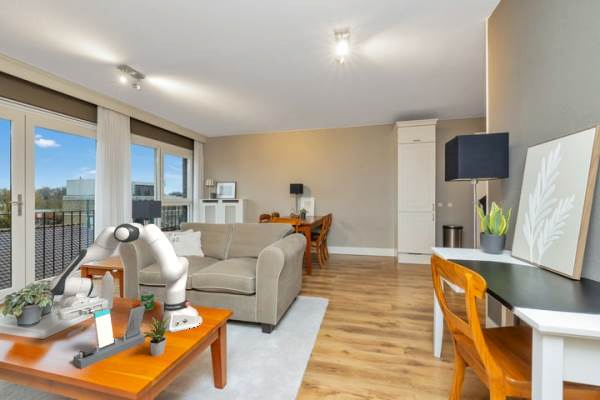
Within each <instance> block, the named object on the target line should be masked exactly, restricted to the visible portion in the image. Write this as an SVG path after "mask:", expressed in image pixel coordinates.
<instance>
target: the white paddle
mask: <svg viewBox="0 0 600 400" xmlns="http://www.w3.org/2000/svg"><path fill="white" fill-rule="evenodd" d="M93 319H94V327H95V334H96V335H95V336H96V343H97V345H98V346H99V348H101V347H104V346H106V345H109V344H111V343H114V334H113V333H114V332H113V326H112V318H111V309H107V310H99V311H95V312H94V313H93Z"/></svg>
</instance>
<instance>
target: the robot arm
mask: <svg viewBox="0 0 600 400" xmlns="http://www.w3.org/2000/svg"><path fill="white" fill-rule="evenodd" d="M136 241H142V242H143V243H144V245H145V246H146V247H147V249H148V250H149V252H150V253H151V254H152V256H153V257H154V259H155V260H156V263H157V265H158V268H159V270H160V276H161V279H163V280H164V281H166V284H165V287H164V301H163V316H162V317H163V318H162V321H163V320H164V319H166V318H167V317H168V316H169V317H168V319H169V320H168V319H167V320H168V322H167V320H166V322H167V324H168V325H169V326H168V325H167V324H166V322H165V324H166V325H165V324H164V325H165V327H167V329H165V330H167V331H166V332H168V331H171V332H170V333H176V332H180V331H185V330H190V329H194V328H193V327H195V328H198V327H197V326H199V325H200V324H201V323H202V324H203V317H202V316H201V315H199V312H198V310H197V309H196V308H195V307H192V306H191V305H190V301H189V299H188V298H186V287H187V279H188V274H189V273H188V272H189V265H190V262H189V259H188V258H186V257H185V256H177V255H176V252H175V249H174V246H173V244H172V243H171V242H170V240H169V239H168V238H167V236H166V234H164V232H163V231H162V230H161V229H160V228H159V227H158V226H157V225H156V224H155V223H148V224H146V225H144V224H143V223H141V222H126V223H122V224H119V225H118V226H112V225H111V226H106V227H105V228H104V229H103V230H102V231H101V232H100V233H99V234H98V236H97V237H96V238H95V240H94V241H93V243H92V244H91V245H90V246H88V247H87V248H85V249H82V250H80V251H79V252H78V253H77V254H76V255H75V256H74V257H73V258H72V259H71V260H70V261H69V263H68V264H67V265H66V266H65V267H64V268H63V270H61V272H60V273H59V274H58V275H56V276H55V277H54V278H53V279H52V280H51V282H50V283H49V287H48V291H49V292H50V293H51V295H53V296H61V297H60V299H59V306H60V308H61V309H59V310H58V311H56V312H54V314H55V316H58V319H59V320H61V321H65V320H68V319H72V318H76V317H79V316H83V315H84V316H85V315H87V316H89V315H92V314H93V313H95V312H99V311H102V310H101V309H105V308H107V307H108V301H107V300H105V299H103V298H101V297H100V296H98V295H96V296H95V295H94V296H91V294H92V292H93V290H94V282H93V280H92V279H91V278H88V277H81V276H80V277H79V276H73V275H74V274H75V273H76V272H77V270H79V268H80V267H82V266H83V265H85V264H88V263H93V262H94V263H95V262H101V261H104V260H108V259H109V258H110V257H112V255H114V253H115V251H116V250H117V248H118V246H119V244H120V243H123V244H127V243H133V242H136ZM93 315H94V314H93ZM169 321H170V322H169ZM163 322H164V321H163ZM161 323H162V322H161ZM199 323H200V324H199ZM162 324H163V323H162ZM202 324H201V325H202ZM201 325H200V326H201ZM160 326H161V325H160ZM200 326H199V327H200ZM165 327H164V328H165ZM161 328H162V326H161ZM189 328H190V329H189Z"/></svg>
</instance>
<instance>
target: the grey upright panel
mask: <svg viewBox="0 0 600 400" xmlns="http://www.w3.org/2000/svg"><path fill="white" fill-rule="evenodd" d="M144 310H145V306H144V305H143V306H141V305H139V306H137V307H134V308H131V309H130V313H129V318H128V321H127V326H126V329H125V330H126V331H125V334H124V335H125V336H126V339H127V338H129V337H132V336H134V335H137V334H139V330H140V329H141V325H142V323H143V317H144V313H145V311H144Z"/></svg>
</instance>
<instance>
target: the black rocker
mask: <svg viewBox="0 0 600 400" xmlns="http://www.w3.org/2000/svg"><path fill="white" fill-rule="evenodd" d="M94 347H95V346H94ZM94 347H93V346H90V347H89V346H88V347H87V348H84V349H82V350H79V353H80V352H82V353H83V354H84V355H87V354H90V353H92V352H95V351H97V348H94Z"/></svg>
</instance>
